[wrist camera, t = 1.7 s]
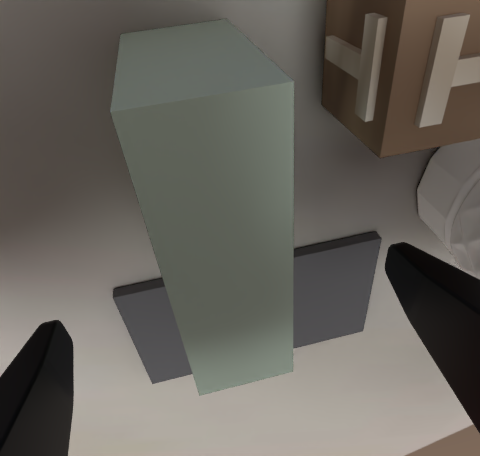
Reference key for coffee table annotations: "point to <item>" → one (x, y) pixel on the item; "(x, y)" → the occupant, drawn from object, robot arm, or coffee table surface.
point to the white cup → (454, 201)
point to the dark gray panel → (304, 303)
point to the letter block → (403, 72)
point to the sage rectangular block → (214, 191)
